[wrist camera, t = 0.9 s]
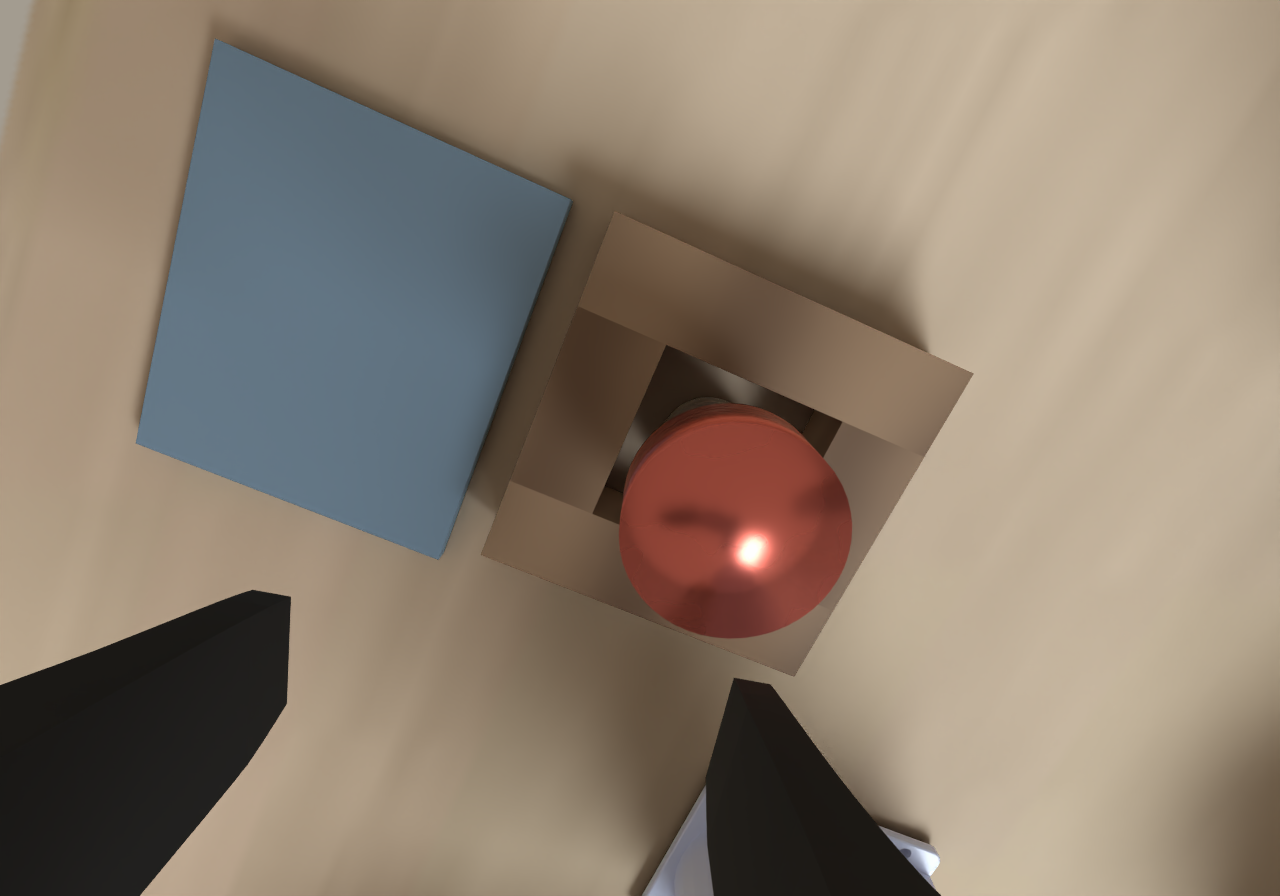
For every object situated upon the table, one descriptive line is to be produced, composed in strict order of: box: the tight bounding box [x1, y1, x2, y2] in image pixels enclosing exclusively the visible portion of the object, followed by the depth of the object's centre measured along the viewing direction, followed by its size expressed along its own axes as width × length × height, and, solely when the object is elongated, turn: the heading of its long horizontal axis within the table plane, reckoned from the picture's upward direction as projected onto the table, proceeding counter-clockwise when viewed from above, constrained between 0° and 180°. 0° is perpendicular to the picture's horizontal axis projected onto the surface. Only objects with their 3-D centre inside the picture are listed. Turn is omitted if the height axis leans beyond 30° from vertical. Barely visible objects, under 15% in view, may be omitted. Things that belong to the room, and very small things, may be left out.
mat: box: [136, 39, 573, 560], centre depth 18 cm, size 10×12×1 cm
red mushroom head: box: [619, 397, 852, 639], centre depth 16 cm, size 5×5×7 cm
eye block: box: [481, 211, 973, 676], centre depth 18 cm, size 10×10×2 cm
